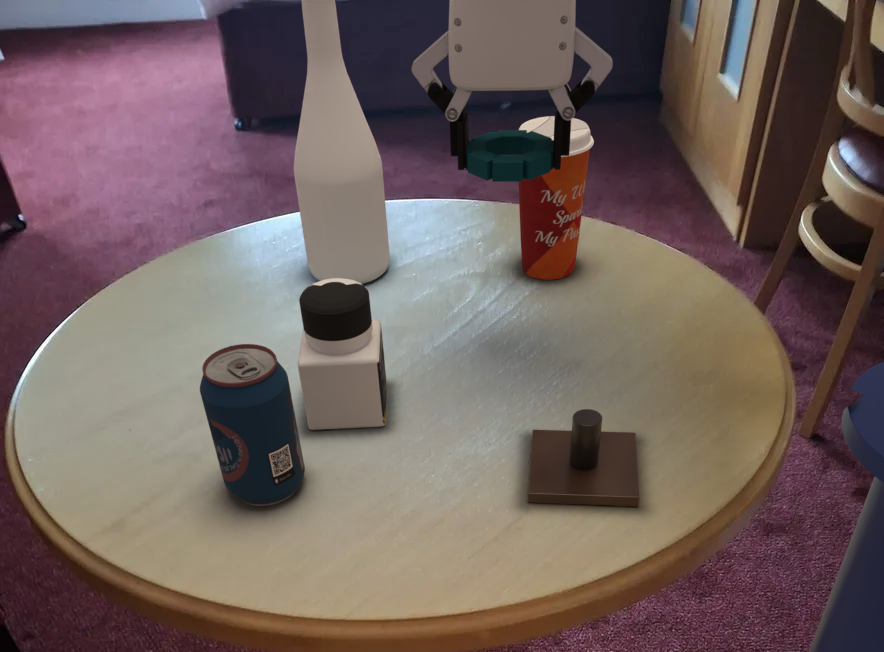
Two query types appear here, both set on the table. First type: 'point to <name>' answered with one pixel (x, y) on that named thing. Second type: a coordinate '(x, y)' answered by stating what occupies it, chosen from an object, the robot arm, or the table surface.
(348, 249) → the wine bottle
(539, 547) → the table surface
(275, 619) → the table surface
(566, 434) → the ring post
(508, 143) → the ring
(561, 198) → the coffee cup
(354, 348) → the medicine bottle
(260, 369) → the soda can
